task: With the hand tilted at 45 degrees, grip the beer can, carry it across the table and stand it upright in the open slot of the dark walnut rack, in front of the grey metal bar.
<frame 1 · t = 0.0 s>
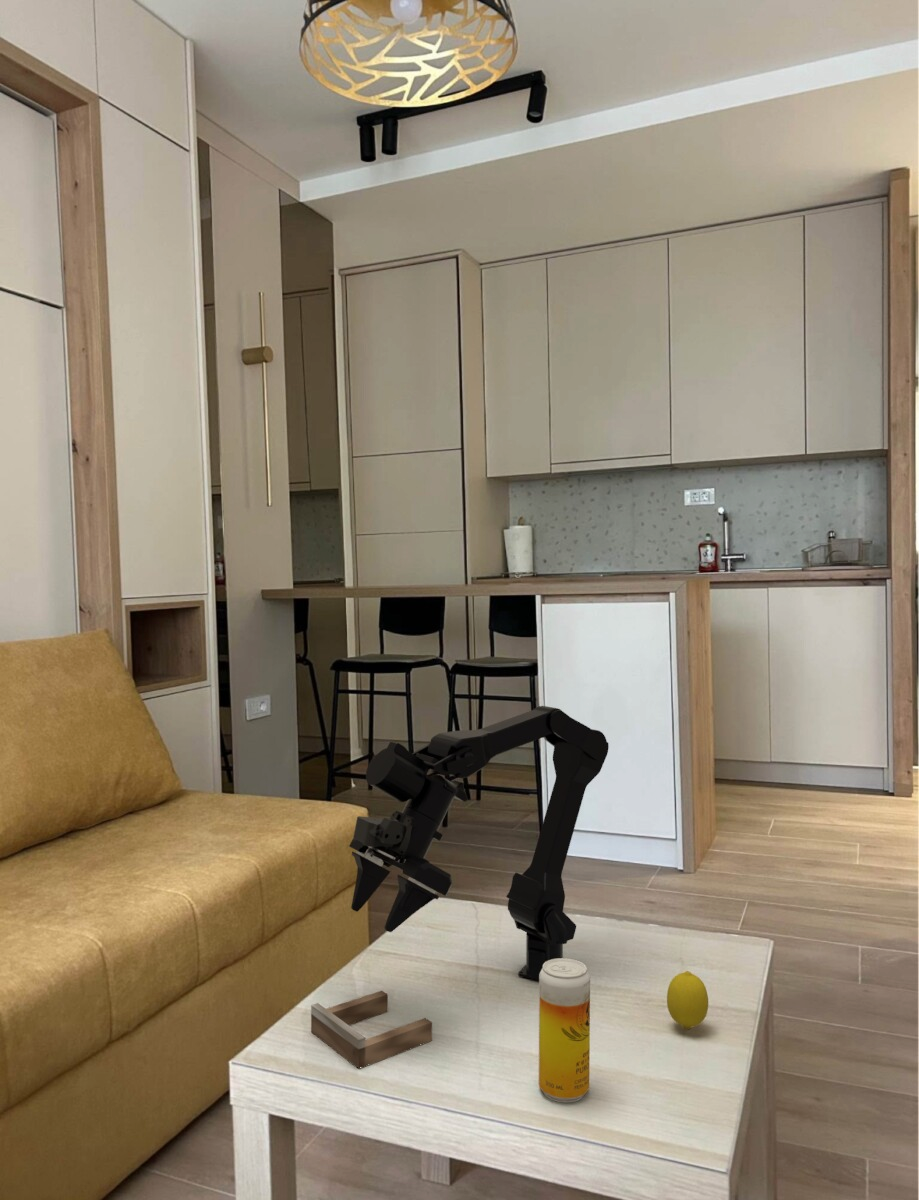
hand: (370, 920, 124), 15 cm above the table, tool tilted 35°, fingers open, 9 cm apart
lemon: (687, 1030, 124), on the table
beer can: (563, 1092, 109), on the table
rack: (369, 1036, 122), on the table
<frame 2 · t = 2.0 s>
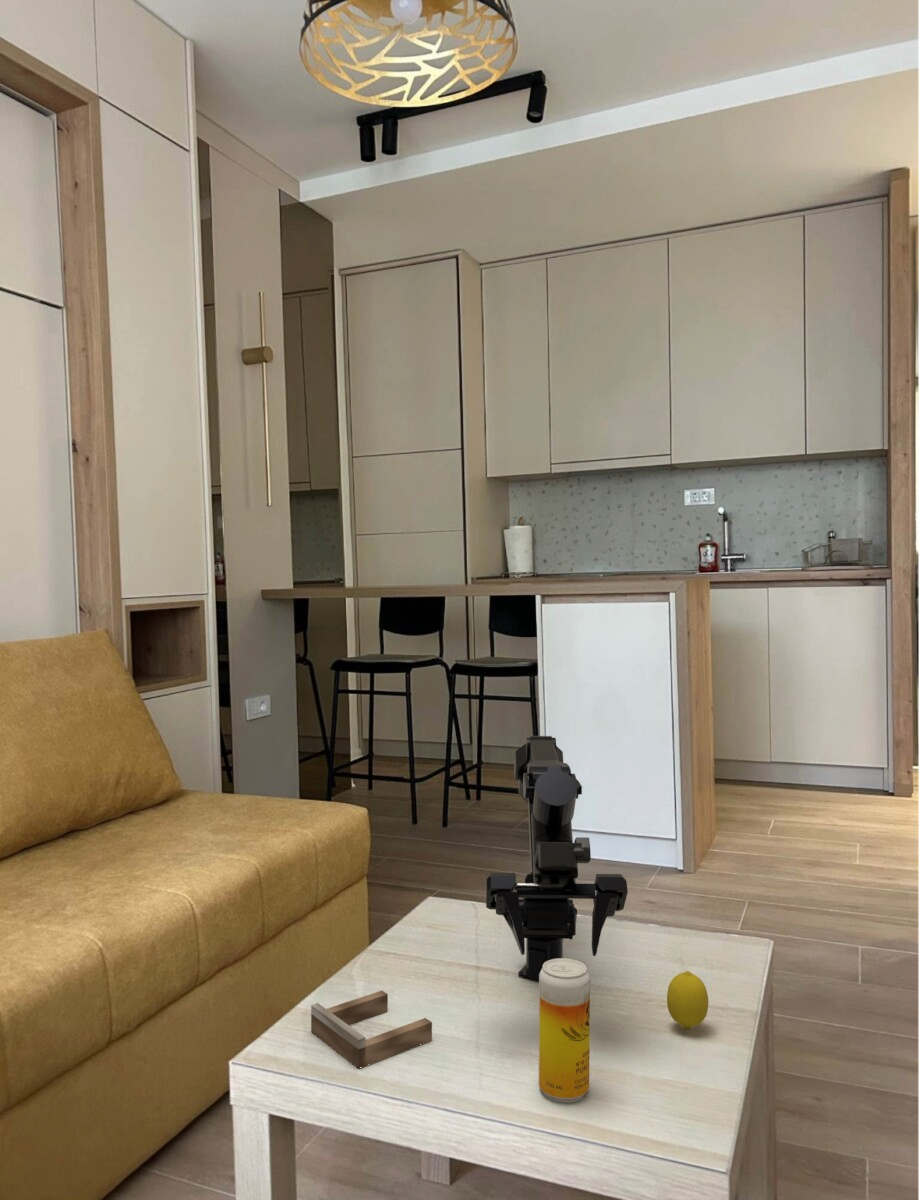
hand: (558, 954, 117), 13 cm above the table, tool tilted 45°, fingers open, 9 cm apart
nothing on the table moved.
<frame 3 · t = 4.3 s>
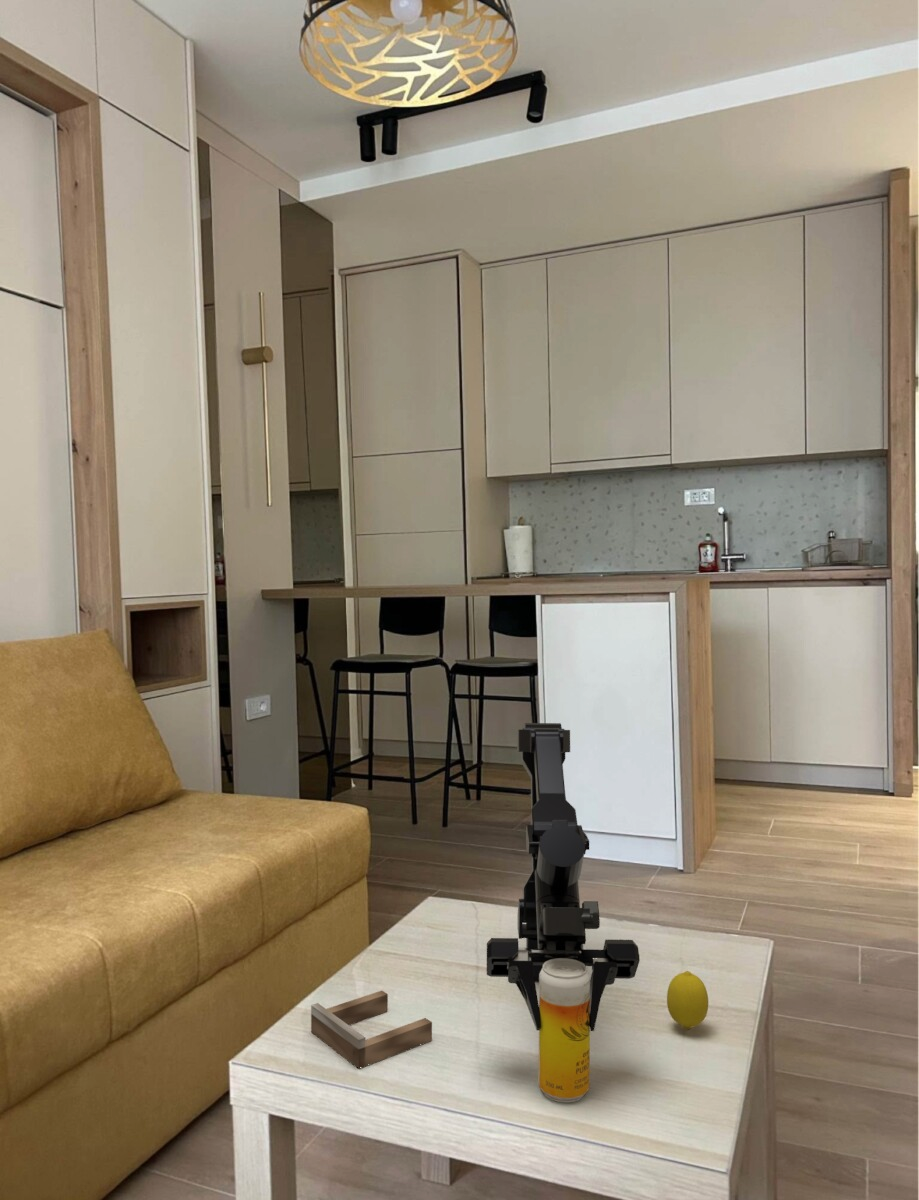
hand: (565, 1029, 107), 8 cm above the table, tool tilted 45°, fingers closed on beer can, 6 cm apart
beer can: (563, 1092, 109), on the table, touching gripper
everything else where it was.
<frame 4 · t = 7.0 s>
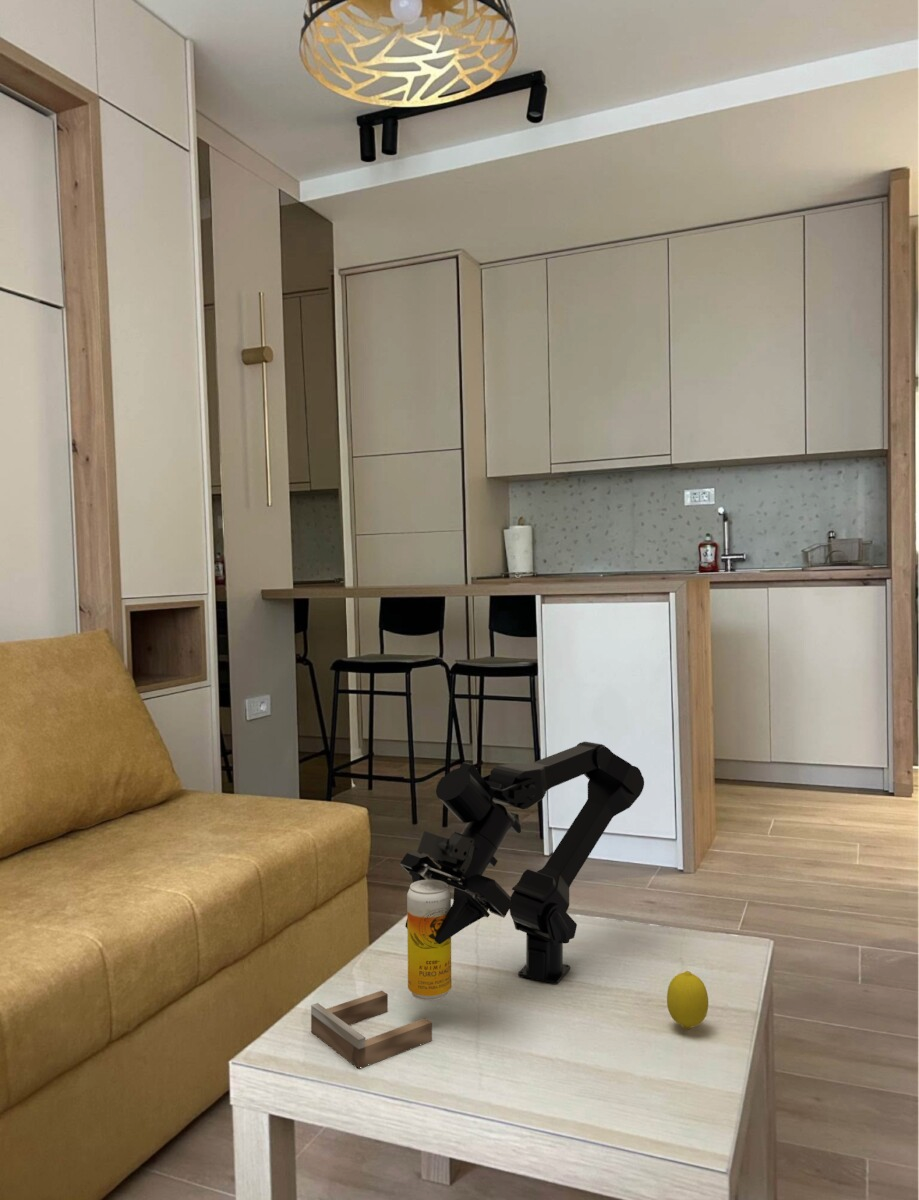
hand: (422, 935, 126), 12 cm above the table, tool tilted 45°, fingers closed on beer can, 6 cm apart
beer can: (429, 993, 127), point 4 cm above the table, touching gripper
everything else where it was.
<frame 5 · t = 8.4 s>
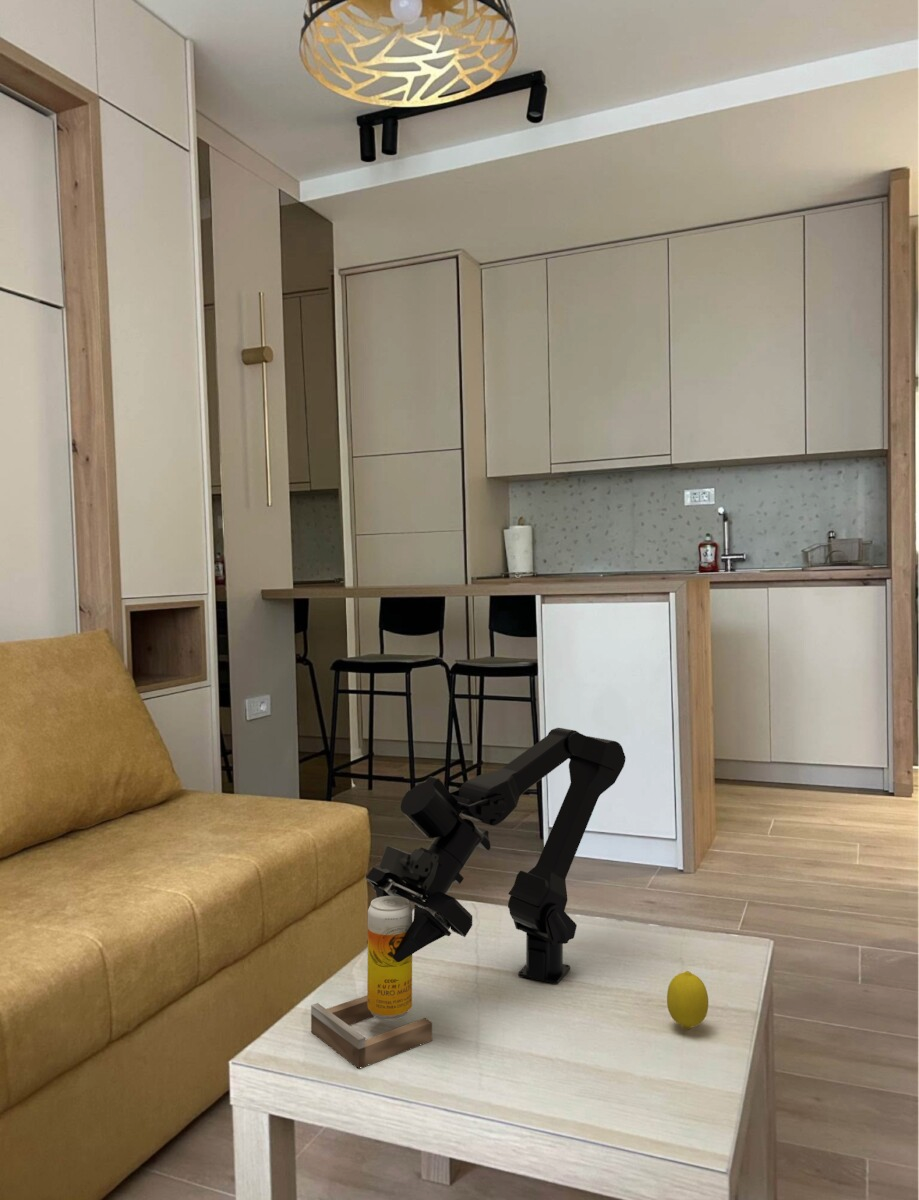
hand: (381, 952, 123), 11 cm above the table, tool tilted 45°, fingers closed on beer can, 6 cm apart
beer can: (389, 1012, 124), point 2 cm above the table, touching gripper
everything else where it was.
when the fingers open (10 cm above the table, at t = 9.5 s): beer can drops 1 cm, on the table.
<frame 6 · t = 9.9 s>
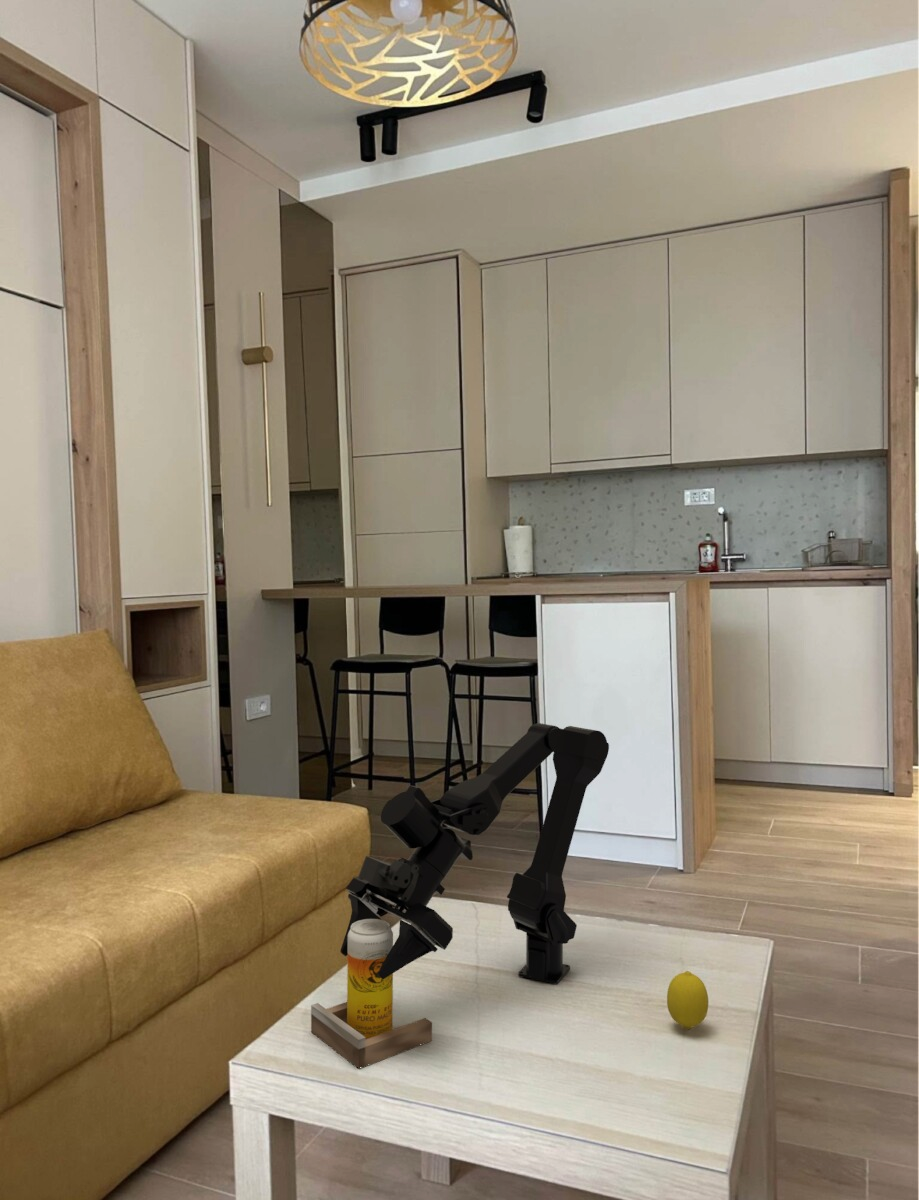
hand: (360, 965, 121), 10 cm above the table, tool tilted 45°, fingers open, 9 cm apart
beer can: (369, 1038, 122), on the table
everything else where it was.
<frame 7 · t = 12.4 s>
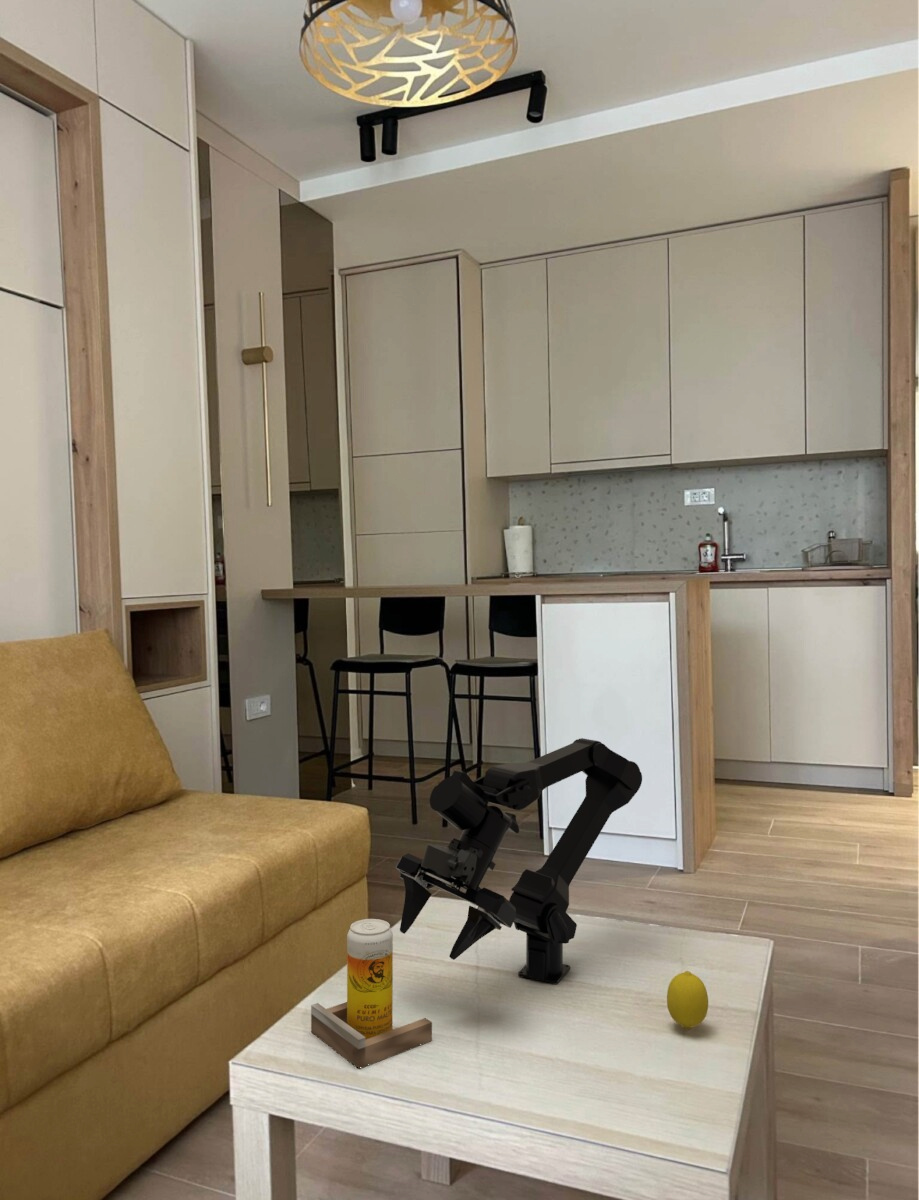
hand: (426, 945, 127), 10 cm above the table, tool tilted 40°, fingers open, 9 cm apart
nothing on the table moved.
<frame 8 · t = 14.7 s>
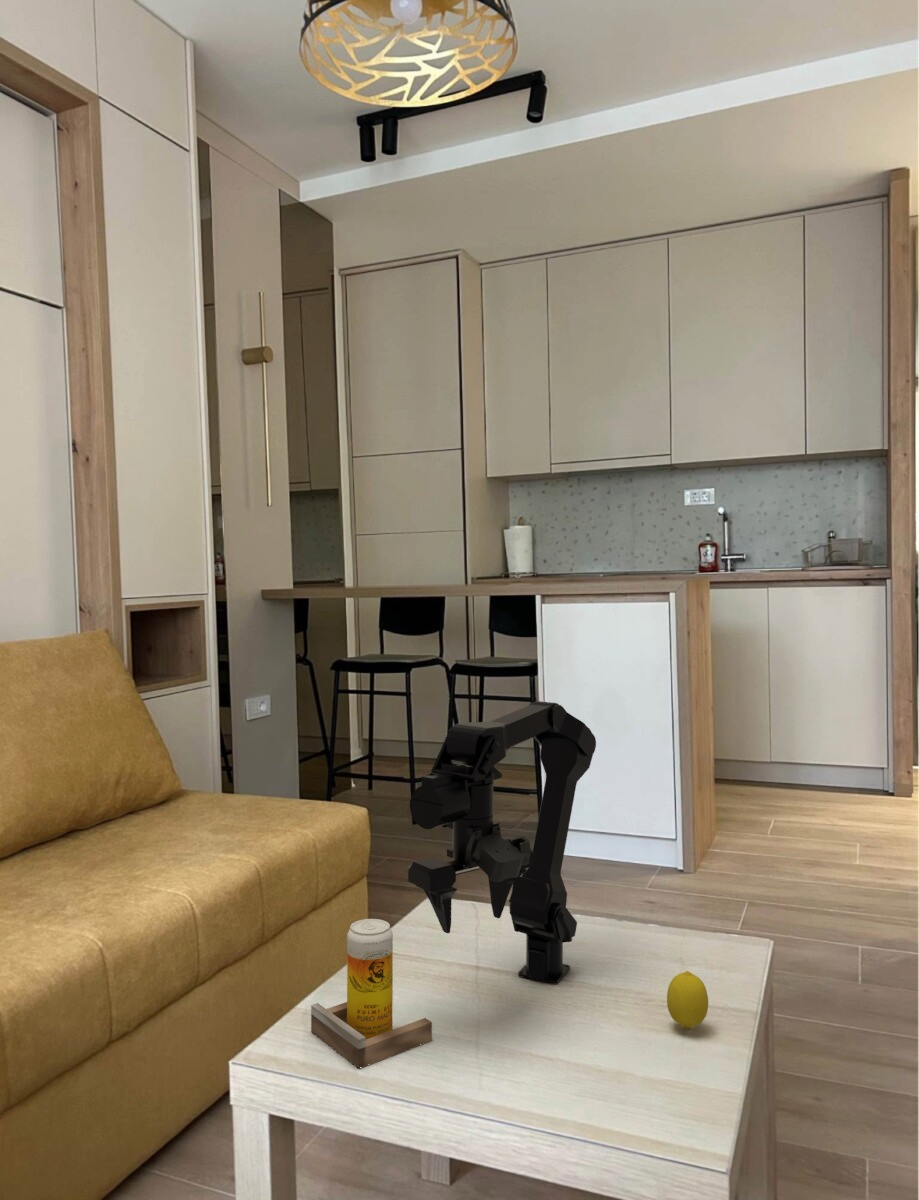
hand: (472, 924, 128), 13 cm above the table, tool pointing down, fingers open, 9 cm apart
nothing on the table moved.
at the end: beer can 0.1 cm off-centre on the rack, point 0.0 cm above the rack's base; beer can tilted 0°; the gripper is holding nothing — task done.
